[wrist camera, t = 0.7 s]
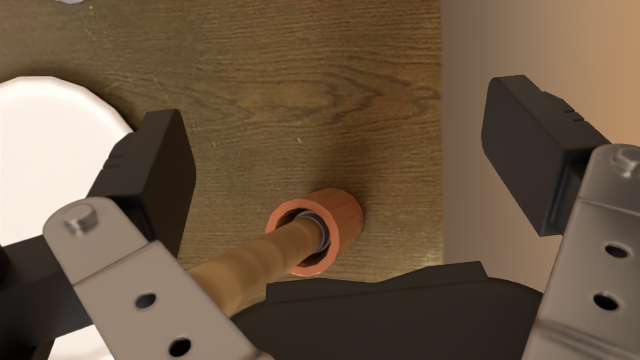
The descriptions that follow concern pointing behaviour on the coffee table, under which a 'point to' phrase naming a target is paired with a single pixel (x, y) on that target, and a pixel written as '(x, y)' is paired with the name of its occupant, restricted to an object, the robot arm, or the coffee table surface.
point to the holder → (338, 216)
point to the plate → (52, 168)
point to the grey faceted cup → (69, 1)
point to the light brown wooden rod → (261, 261)
